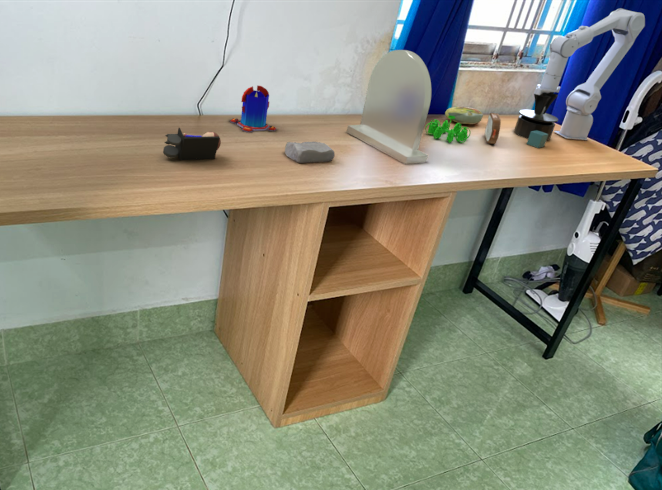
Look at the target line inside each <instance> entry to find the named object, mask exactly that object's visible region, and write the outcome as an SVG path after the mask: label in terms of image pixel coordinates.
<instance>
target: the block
mask: <svg viewBox="0 0 662 490" xmlns="http://www.w3.org/2000/svg"><path fill="white" fill-rule="evenodd" d="M547 137H548V134H547V133H544V132H541V131H538V130H536V131H531V133H530V135H529V138H527V141H526V145H527V146H531V147H533V148H537V149H540V148H544V147H545V145H546V143H547V141H546V140H547Z"/></svg>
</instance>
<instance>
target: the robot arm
mask: <svg viewBox="0 0 662 490" xmlns="http://www.w3.org/2000/svg"><path fill="white" fill-rule="evenodd" d="M645 27H646V18H645V15H644V13H642V12H637V11H632V10H628V9H625V8H621V7H620V8H617V9H616V10H613V11H611V12H610V13H609V15H608V16H606V17H604V18H603V19H601V20H599V21H597V22H596V23H594V24H592V25H591V26H587V25H580V26H578V29H576V30H573V31H571V32H568V33H566V34H565V35H564V36H563V35H558V36H557V37H555V38H554V39H553V40H552V41H551V43H549V46H548V47H549V55H548V58H549V59H548V62H547V65H546V66H545V67H546V68H545V70H544V73H543V75H542V78H541V82H540V84H536V88H535V89H534V93H533V97H534V114H537V115H540V114H541V113H542V111H543V109H544V107H545V106H546V108H545V110H544V113H543V114H545V113H547V111H548V109H549V108H550V106H551V104H552V103H553V102H554V101H555V100H556V99H557V98H558V96H559V94H556V93H560V89H561V86H559V84H560V82H561V79H562V77H563V74H564V72H565V68H566V66H567V62H568V60H569V57H571V56H573V55H574V53H575V52H576V51H577V50H578V49H580V48H582V47H584V46H586V45H588V44H589V43H591V42H592V41H593V39H594V38H595V37H597V36H599V35H601V34H604V33H606V32H608V31H611V32H612V36H613V37H614V42H613V44H612V45H611V47H610V48H609V49H608V51H607V52H606V53H605V55H604V56H603V57H602V59H601V60H600V62H599V63H598V64H597V66H596V68H595V69H594V71H592V72H591V74H590V75H589V77H588V79H587V80H586V82H584V83H581V84H578V85H577V86H576V87H575V88H574V90H572V91H570V93H569V94H568V95H567V97H566V100H565V105H566V110H567V111H566V114H565V116H564V119H563V121H562V124H561V126H560V129H559V130H553V133H555V134H557V135H559V136H560V137H562V138H564V139H566V140H577V141H578V140H579V141H588V135H589V133H590V131H591V128H592V126H593V124H594V123H593V122H594V117H593V113H594V112H595V110H596V109H597V108H598V104H599V102H600V100H601V99H602V95H601V91H600V90H601V89H602V87H603V86H604V85H605V84H606V82H607V81H608V80H609V78H610V77H611V75H612V74H613V72H614V71H615V69H616V68H617V66H618V65H619V64H620V63H621V61H622V60H623V58H625V55H627V53H628V52H629V50H630V49H631V48H632V46H633V45H634V43H635V41H636V39H637V37H638V36H639V34H640V33H641V32H642V30H643V29H644V28H645Z"/></svg>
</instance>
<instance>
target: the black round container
mask: <svg viewBox="0 0 662 490" xmlns="http://www.w3.org/2000/svg"><path fill="white" fill-rule="evenodd" d="M555 126H556V122H555V123H545V122H538V121H534V120H531V119H528V118H526V117H524V116H522V115H520V114H519V115H518V117H517V120H516V122H515V125H514V129H513V132H514V134H516V135H517V136H520V137H521V138H524V139H528V138H529V135H530V133H531V131H536V130H538V131H541V132H544V133H547V134H548V137H547V140H546V142H547V141H550V140H551V138H552V135H553V133H554V131H555Z"/></svg>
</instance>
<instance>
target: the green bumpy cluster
mask: <svg viewBox="0 0 662 490" xmlns="http://www.w3.org/2000/svg"><path fill="white" fill-rule="evenodd" d="M448 118H450V119H451V120H449V119H448ZM448 118H447V119H445V120H444V121H443V122H442V124H441V122H440V120H439V119H431V120H430V122H428V123H427V124H425V127H424V129H425V130H424V131H425V133H426V134H427V135H429V136H433V139H435V140H439V139H441V138H442V136H443V134H445V133H447V135H446V141H447V143H449V144H450V143H452V142H453V141H454V138H455V141H456V142H457V143H459V144H462V143H463V144H464V143H466V141H467V140H468V139H469V138H470V136H471V133H469V134H468V132H471V130H470V128H469V127H468V126H462V124H461V123H457V122H456V123H455V125H454V126H453V128H450V127H451V124H452V119H455V117H454V116H448ZM427 127H428V129H427Z"/></svg>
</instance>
